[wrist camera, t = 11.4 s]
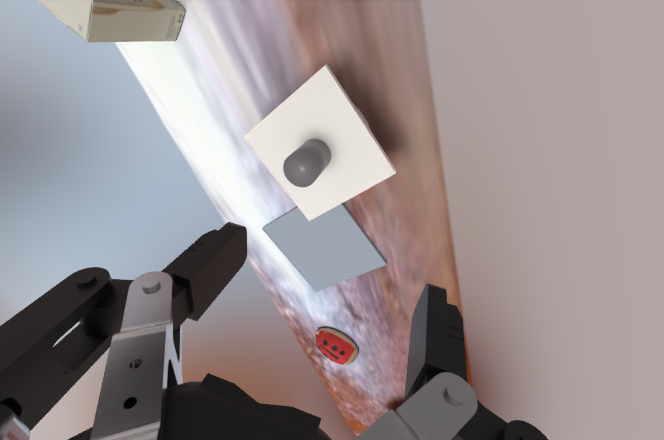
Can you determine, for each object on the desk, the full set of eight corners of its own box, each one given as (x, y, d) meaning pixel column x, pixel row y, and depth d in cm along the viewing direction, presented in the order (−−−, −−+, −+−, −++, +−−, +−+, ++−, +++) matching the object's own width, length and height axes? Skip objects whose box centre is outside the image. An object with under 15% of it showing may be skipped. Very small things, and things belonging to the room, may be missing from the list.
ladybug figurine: (348, 359, 64) (343, 375, 62) (309, 333, 64) (303, 348, 61) (366, 347, 61) (363, 363, 58) (326, 319, 60) (320, 333, 57)
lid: (246, 135, 37) (218, 150, 32) (327, 64, 30) (306, 70, 26) (311, 218, 41) (294, 242, 36) (396, 170, 34) (389, 193, 29)
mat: (263, 226, 52) (261, 228, 51) (331, 186, 44) (329, 188, 44) (316, 289, 56) (315, 291, 55) (386, 262, 48) (386, 264, 48)
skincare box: (187, 9, 37) (96, 2, 28) (176, 42, 40) (89, 46, 30) (143, -30, 37) (32, -52, 27) (135, 6, 39) (31, -2, 29)
